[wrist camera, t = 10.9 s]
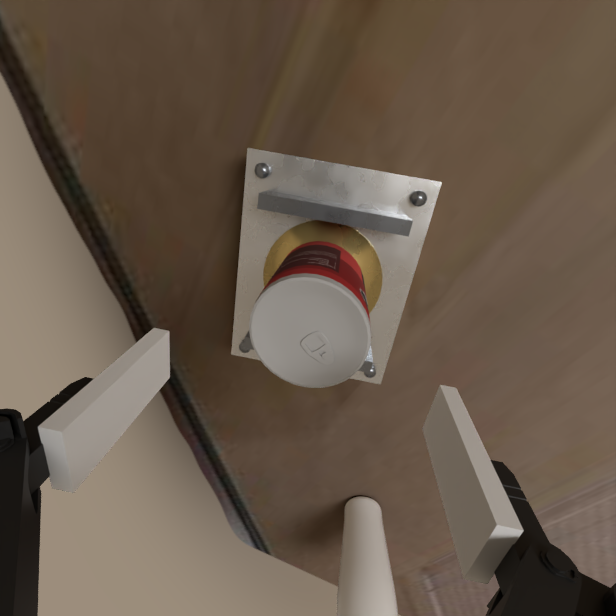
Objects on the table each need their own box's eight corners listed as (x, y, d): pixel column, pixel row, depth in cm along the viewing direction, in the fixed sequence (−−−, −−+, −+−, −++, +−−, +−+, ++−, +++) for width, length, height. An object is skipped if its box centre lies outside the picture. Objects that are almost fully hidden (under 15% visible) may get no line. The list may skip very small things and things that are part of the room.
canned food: (329, 334, 33) (321, 408, 23) (263, 285, 32) (224, 341, 22) (382, 276, 30) (400, 332, 20) (312, 220, 29) (293, 249, 19)
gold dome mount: (261, 150, 32) (236, 145, 25) (428, 179, 31) (452, 184, 24) (244, 332, 40) (221, 370, 33) (376, 358, 39) (383, 403, 32)
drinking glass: (350, 484, 48) (351, 612, 34) (394, 500, 48) (412, 634, 34) (332, 512, 50) (326, 641, 37) (373, 527, 51) (383, 661, 37)
